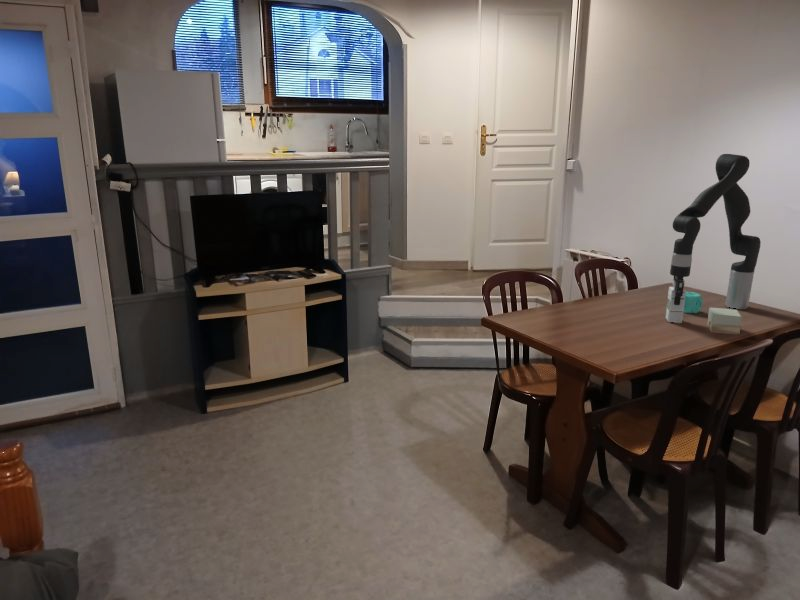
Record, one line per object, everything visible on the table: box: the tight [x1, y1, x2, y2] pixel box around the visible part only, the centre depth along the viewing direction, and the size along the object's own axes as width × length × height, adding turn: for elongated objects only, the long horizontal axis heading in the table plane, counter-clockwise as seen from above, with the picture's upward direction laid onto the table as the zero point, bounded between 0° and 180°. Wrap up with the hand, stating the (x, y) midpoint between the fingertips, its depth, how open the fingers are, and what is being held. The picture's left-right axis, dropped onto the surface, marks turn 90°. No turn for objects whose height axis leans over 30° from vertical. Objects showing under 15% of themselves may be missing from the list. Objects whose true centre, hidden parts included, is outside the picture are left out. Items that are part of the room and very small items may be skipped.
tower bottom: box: [706, 317, 741, 336], centre depth 238 cm, size 10×10×4 cm
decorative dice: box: [683, 291, 704, 314], centre depth 262 cm, size 8×8×8 cm
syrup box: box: [665, 286, 687, 324], centre depth 247 cm, size 6×6×14 cm
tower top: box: [707, 306, 742, 326], centre depth 237 cm, size 10×10×4 cm
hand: (675, 302), depth 247 cm, fingers closed on syrup box, 6 cm apart
